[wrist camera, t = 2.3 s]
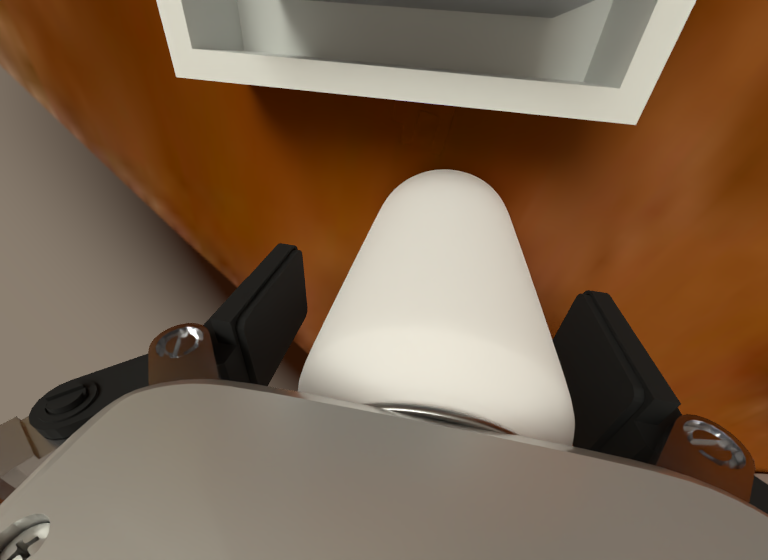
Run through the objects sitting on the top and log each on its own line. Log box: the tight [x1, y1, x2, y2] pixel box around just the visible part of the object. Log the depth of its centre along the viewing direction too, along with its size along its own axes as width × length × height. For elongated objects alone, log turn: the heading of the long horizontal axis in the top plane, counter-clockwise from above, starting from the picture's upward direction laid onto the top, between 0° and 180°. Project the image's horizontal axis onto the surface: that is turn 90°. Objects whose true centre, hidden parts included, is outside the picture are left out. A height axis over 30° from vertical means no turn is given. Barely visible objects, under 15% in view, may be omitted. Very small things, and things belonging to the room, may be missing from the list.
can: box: [298, 169, 575, 446], centre depth 11 cm, size 6×6×12 cm
